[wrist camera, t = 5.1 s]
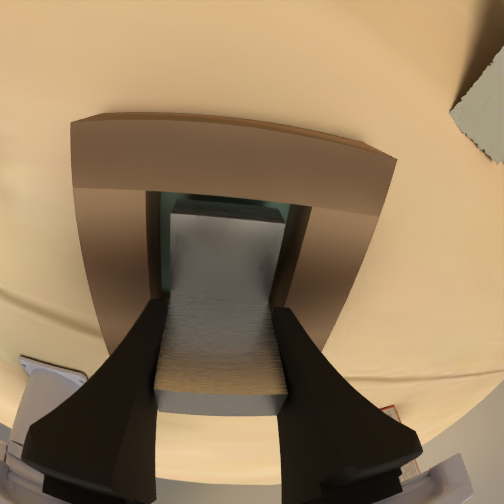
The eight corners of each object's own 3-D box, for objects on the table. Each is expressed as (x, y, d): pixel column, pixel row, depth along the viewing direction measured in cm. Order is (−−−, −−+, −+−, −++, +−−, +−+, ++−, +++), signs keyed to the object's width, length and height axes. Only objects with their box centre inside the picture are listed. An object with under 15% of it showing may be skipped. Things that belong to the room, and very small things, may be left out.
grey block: (258, 305, 14) (277, 415, 8) (175, 299, 13) (159, 411, 8) (278, 208, 11) (324, 309, 6) (177, 198, 11) (138, 297, 5)
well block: (290, 362, 20) (297, 395, 18) (129, 353, 18) (121, 386, 16) (363, 143, 12) (397, 159, 9) (102, 113, 10) (70, 122, 7)
